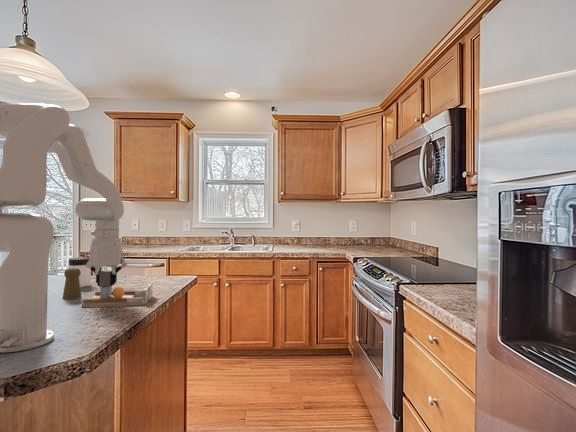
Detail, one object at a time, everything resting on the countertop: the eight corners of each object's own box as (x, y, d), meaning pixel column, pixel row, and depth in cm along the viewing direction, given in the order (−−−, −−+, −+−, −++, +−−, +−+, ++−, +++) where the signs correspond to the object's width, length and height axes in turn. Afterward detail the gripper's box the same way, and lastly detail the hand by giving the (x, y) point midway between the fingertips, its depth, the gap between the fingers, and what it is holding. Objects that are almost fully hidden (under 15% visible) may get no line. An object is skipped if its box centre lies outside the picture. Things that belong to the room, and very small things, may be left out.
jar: (81, 283, 152) (82, 256, 152) (95, 284, 149) (95, 257, 149) (62, 286, 144) (63, 258, 144) (76, 288, 141) (76, 260, 141)
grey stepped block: (108, 299, 118) (108, 272, 118) (97, 299, 117) (97, 273, 117) (114, 294, 125) (114, 269, 125) (103, 295, 124) (104, 269, 124)
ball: (122, 299, 120) (122, 288, 120) (110, 299, 119) (110, 288, 119) (125, 296, 124) (126, 285, 124) (114, 296, 123) (114, 286, 123)
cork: (72, 299, 122) (72, 269, 122) (58, 298, 124) (58, 269, 124) (85, 296, 128) (85, 267, 128) (71, 295, 130) (72, 266, 130)
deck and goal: (144, 305, 117) (144, 291, 117) (81, 307, 113) (81, 292, 113) (152, 296, 131) (153, 283, 131) (97, 297, 127) (97, 284, 127)
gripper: (77, 234, 116) (76, 287, 116) (129, 235, 119) (128, 286, 119) (86, 233, 123) (85, 283, 123) (134, 233, 126) (133, 282, 126)
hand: (106, 284), depth 121 cm, fingers closed on grey stepped block, 3 cm apart
